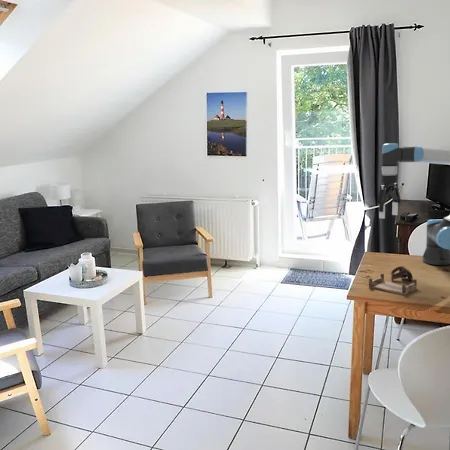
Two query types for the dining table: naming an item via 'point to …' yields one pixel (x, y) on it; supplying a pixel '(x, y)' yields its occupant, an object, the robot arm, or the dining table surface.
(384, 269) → the dining table surface
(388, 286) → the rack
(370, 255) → the dining table surface
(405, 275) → the pottery mug
